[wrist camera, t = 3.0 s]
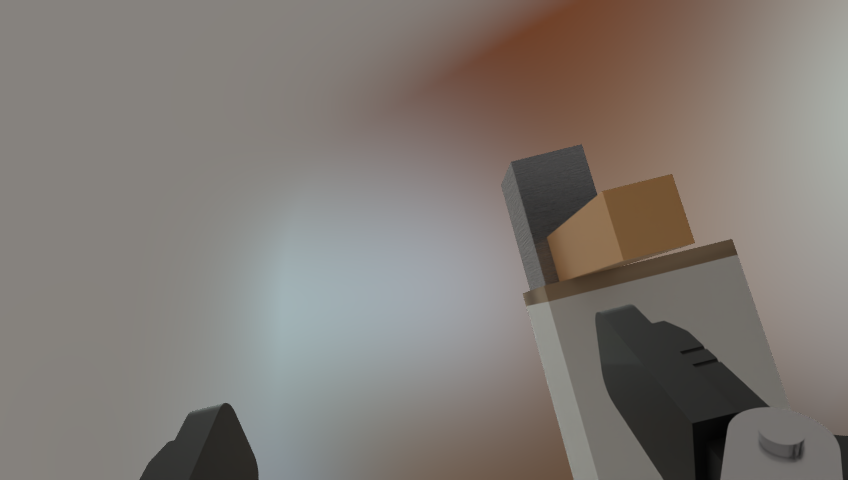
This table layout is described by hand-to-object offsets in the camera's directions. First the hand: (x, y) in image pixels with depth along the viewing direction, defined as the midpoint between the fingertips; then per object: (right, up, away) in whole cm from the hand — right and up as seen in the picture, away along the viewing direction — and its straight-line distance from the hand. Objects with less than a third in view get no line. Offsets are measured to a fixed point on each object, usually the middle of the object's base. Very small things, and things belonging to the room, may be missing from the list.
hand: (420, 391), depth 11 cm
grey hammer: (+8, +2, +14) cm, 16 cm away
